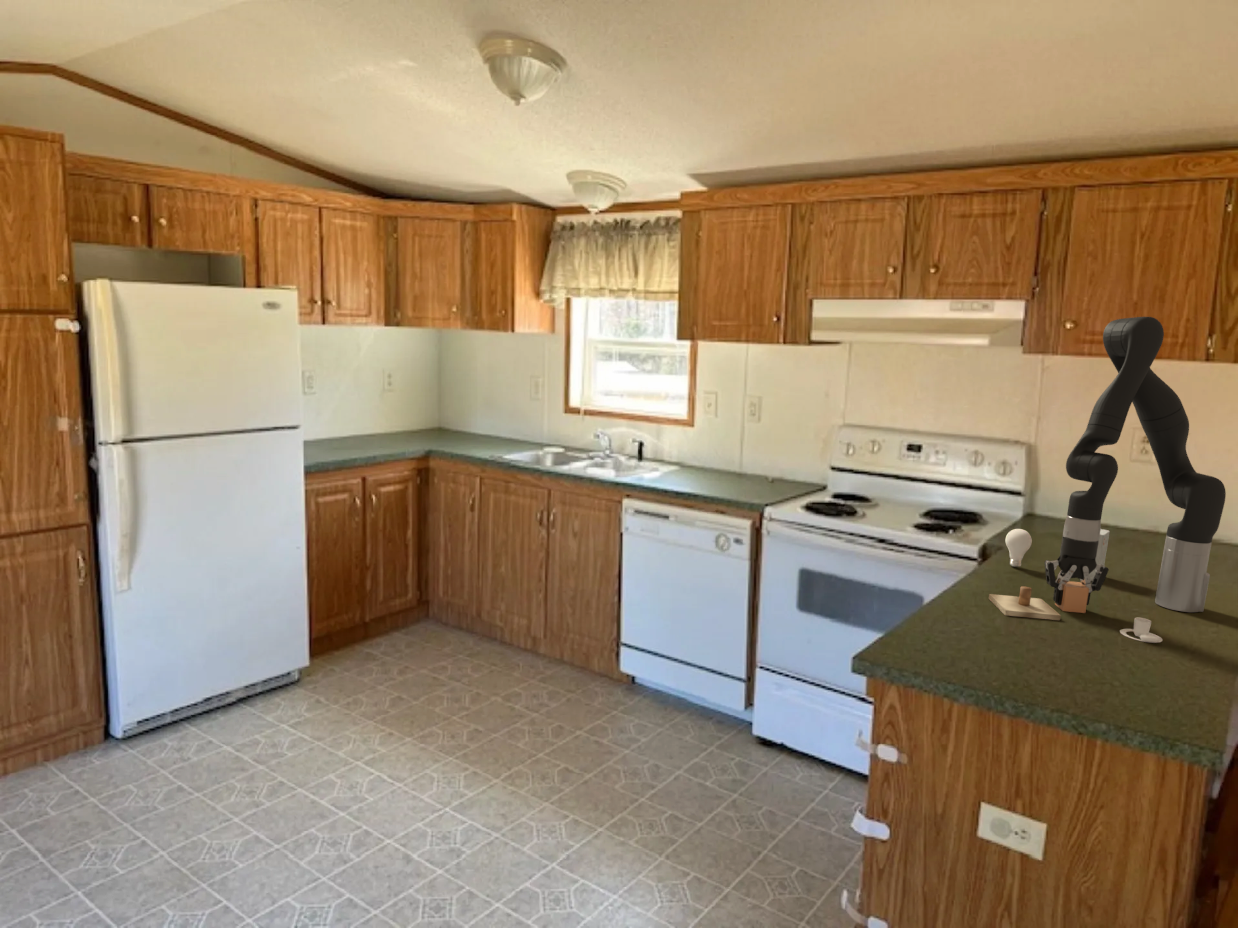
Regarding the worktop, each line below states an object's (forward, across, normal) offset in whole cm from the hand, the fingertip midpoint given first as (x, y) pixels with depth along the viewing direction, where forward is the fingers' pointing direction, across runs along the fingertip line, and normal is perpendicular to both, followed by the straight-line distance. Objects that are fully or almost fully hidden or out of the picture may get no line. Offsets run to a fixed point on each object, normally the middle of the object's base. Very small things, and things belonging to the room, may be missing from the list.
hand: (1070, 604), depth 199 cm
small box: (+1, -17, -32) cm, 36 cm away
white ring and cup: (+2, -6, +17) cm, 18 cm away
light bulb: (+1, +1, -35) cm, 35 cm away
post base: (+1, +12, +4) cm, 13 cm away
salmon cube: (+1, 0, 0) cm, 1 cm away
